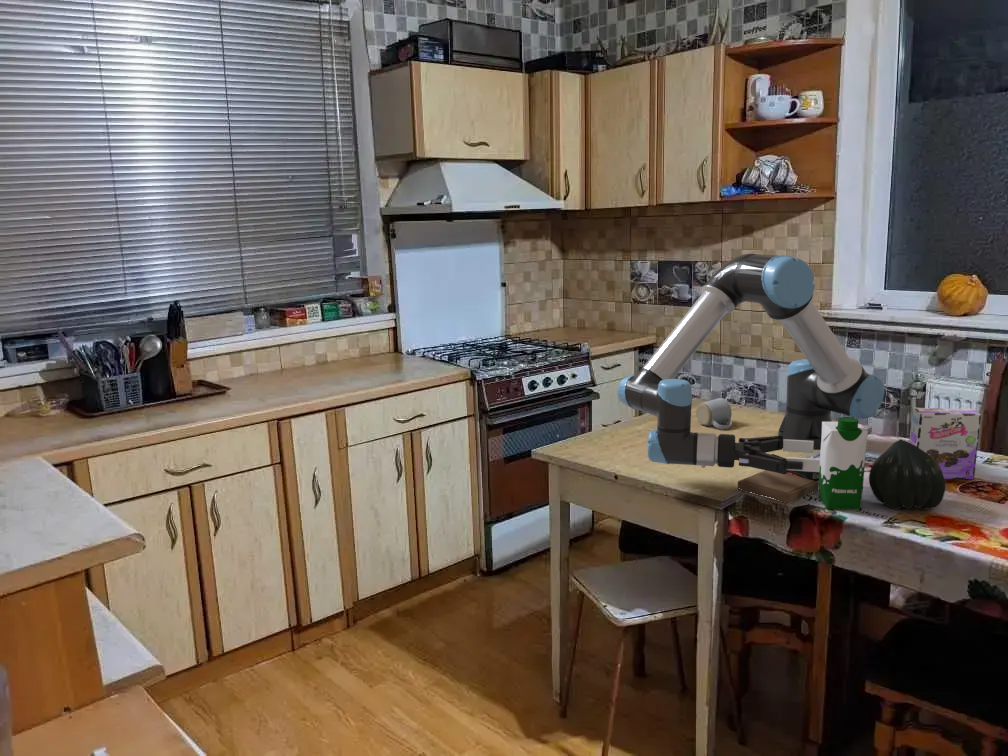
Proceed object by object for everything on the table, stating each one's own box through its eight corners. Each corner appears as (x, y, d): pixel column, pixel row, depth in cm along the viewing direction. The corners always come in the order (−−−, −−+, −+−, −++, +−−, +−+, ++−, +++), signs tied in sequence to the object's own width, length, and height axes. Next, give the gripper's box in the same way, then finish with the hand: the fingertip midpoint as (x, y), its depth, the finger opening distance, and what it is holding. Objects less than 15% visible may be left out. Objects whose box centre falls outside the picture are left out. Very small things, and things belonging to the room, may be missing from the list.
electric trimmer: (777, 463, 214) (777, 451, 213) (822, 481, 200) (823, 468, 200) (765, 465, 213) (766, 454, 212) (810, 483, 199) (811, 470, 198)
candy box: (913, 478, 200) (919, 412, 196) (905, 470, 205) (911, 406, 202) (975, 480, 198) (982, 413, 194) (965, 472, 204) (972, 407, 200)
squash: (948, 500, 171) (946, 435, 177) (869, 494, 176) (870, 431, 183) (941, 525, 182) (940, 462, 189) (867, 518, 188) (868, 458, 195)
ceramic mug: (693, 423, 251) (694, 398, 249) (714, 419, 255) (715, 395, 253) (717, 432, 242) (718, 407, 240) (738, 428, 245) (740, 403, 244)
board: (768, 476, 203) (769, 467, 203) (818, 490, 193) (818, 480, 193) (737, 489, 195) (738, 480, 194) (787, 504, 185) (788, 494, 185)
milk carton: (824, 510, 181) (830, 422, 177) (813, 496, 190) (818, 411, 185) (865, 511, 180) (873, 422, 176) (852, 496, 189) (859, 411, 185)
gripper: (717, 449, 201) (810, 455, 196) (715, 484, 178) (820, 491, 173) (718, 419, 200) (811, 424, 194) (716, 450, 176) (822, 456, 171)
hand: (816, 455), depth 183 cm, fingers open, 13 cm apart
